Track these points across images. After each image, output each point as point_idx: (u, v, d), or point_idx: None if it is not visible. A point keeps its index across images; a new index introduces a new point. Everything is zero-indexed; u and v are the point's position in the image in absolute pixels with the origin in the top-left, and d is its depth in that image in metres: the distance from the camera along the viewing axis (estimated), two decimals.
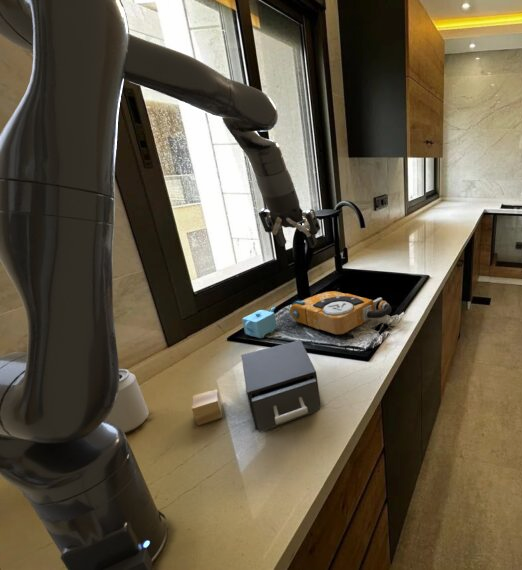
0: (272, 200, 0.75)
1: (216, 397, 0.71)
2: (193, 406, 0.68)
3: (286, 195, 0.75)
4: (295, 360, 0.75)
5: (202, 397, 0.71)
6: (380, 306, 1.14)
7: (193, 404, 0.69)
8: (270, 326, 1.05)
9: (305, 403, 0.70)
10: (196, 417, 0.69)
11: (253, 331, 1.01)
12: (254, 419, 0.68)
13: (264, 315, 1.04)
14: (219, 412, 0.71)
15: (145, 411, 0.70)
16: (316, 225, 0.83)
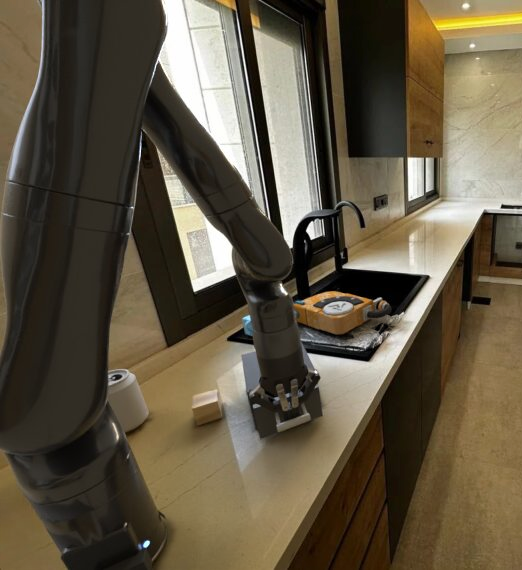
0: (285, 360, 0.56)
1: (216, 397, 0.71)
2: (193, 406, 0.68)
3: (299, 348, 0.58)
4: None
5: (202, 397, 0.71)
6: (380, 306, 1.14)
7: (193, 404, 0.69)
8: None
9: (307, 409, 0.68)
10: (196, 417, 0.69)
11: None
12: (254, 419, 0.68)
13: None
14: (219, 412, 0.71)
15: (145, 411, 0.70)
16: (304, 389, 0.65)
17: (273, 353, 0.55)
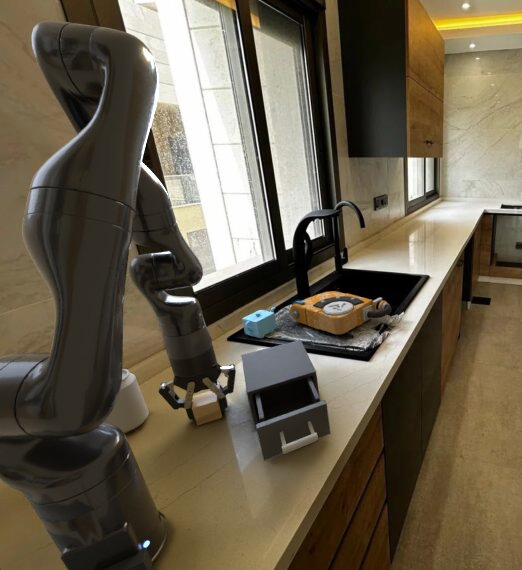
0: (192, 361, 0.64)
1: (216, 397, 0.71)
2: (193, 406, 0.68)
3: (208, 351, 0.66)
4: (295, 360, 0.75)
5: (202, 397, 0.71)
6: (380, 306, 1.14)
7: (193, 404, 0.69)
8: (270, 326, 1.05)
9: (314, 427, 0.64)
10: (196, 417, 0.69)
11: (253, 331, 1.01)
12: (254, 419, 0.68)
13: (264, 315, 1.04)
14: (219, 412, 0.71)
15: (145, 411, 0.70)
16: None
17: (180, 354, 0.62)
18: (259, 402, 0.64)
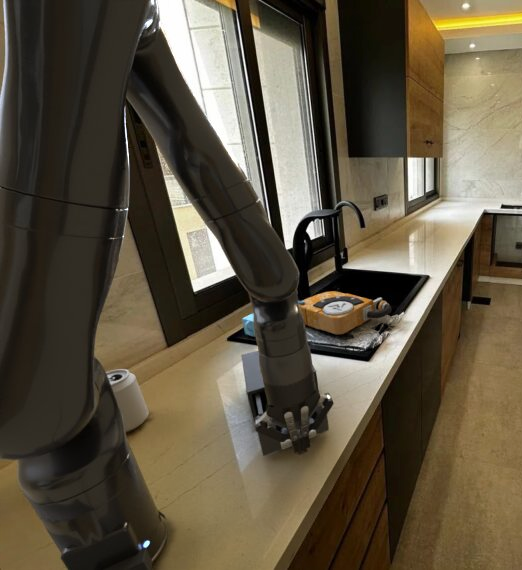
0: (294, 387, 0.49)
1: None
2: None
3: (311, 372, 0.52)
4: None
5: None
6: (380, 306, 1.14)
7: None
8: None
9: None
10: None
11: (253, 331, 1.01)
12: None
13: None
14: None
15: (145, 411, 0.70)
16: (315, 415, 0.58)
17: (281, 379, 0.48)
18: (258, 399, 0.65)
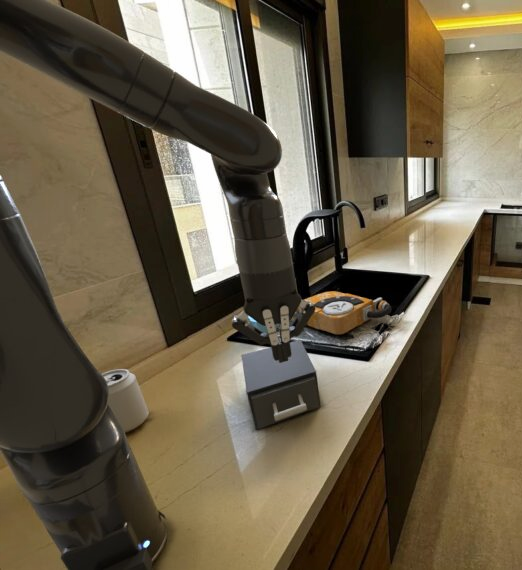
0: (272, 277, 0.47)
1: None
2: None
3: (290, 268, 0.50)
4: (295, 360, 0.75)
5: None
6: (380, 306, 1.14)
7: None
8: None
9: (304, 400, 0.71)
10: None
11: None
12: (254, 419, 0.68)
13: None
14: None
15: (145, 411, 0.70)
16: (297, 324, 0.56)
17: (258, 266, 0.46)
18: None
